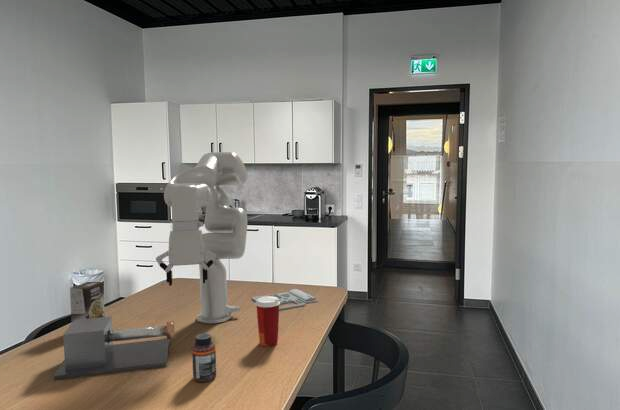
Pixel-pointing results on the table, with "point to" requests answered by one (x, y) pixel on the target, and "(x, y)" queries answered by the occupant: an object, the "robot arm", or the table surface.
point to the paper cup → (268, 320)
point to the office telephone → (292, 298)
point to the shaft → (142, 333)
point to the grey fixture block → (106, 351)
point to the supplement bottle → (204, 358)
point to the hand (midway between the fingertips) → (187, 283)
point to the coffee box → (87, 301)
